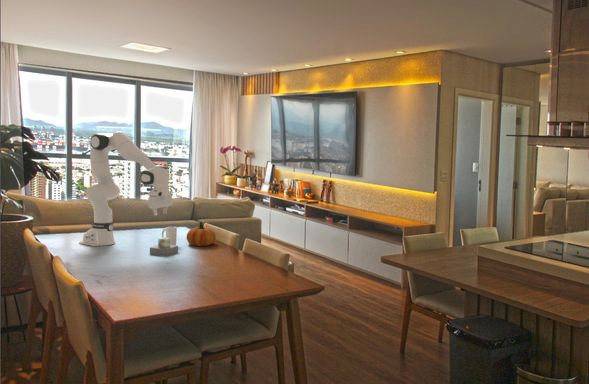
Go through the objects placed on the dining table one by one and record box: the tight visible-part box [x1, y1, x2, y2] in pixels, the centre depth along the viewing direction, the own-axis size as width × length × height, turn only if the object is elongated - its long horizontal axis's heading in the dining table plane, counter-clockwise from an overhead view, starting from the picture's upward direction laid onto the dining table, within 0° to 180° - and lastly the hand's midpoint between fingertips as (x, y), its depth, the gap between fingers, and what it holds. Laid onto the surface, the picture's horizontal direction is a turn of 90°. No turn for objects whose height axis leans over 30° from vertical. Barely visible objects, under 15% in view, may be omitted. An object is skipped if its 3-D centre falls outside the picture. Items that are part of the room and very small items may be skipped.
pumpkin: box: [186, 221, 217, 247], centre depth 332 cm, size 19×19×15 cm
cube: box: [157, 236, 170, 248], centre depth 303 cm, size 5×5×5 cm
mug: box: [161, 226, 178, 246], centre depth 326 cm, size 10×7×12 cm, turn 77°
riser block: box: [149, 244, 179, 257], centre depth 304 cm, size 12×12×4 cm
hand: (160, 214), depth 306 cm, fingers open, 8 cm apart
